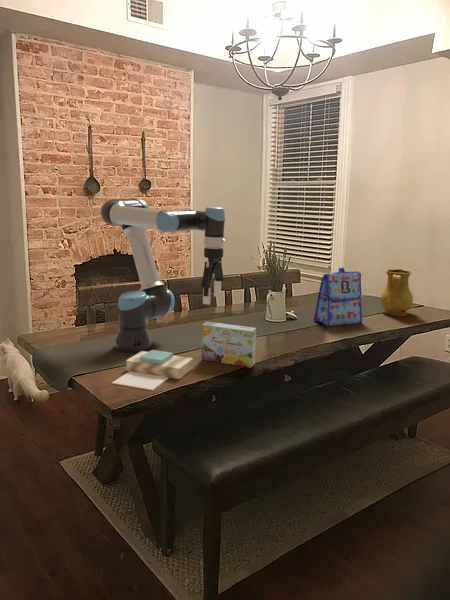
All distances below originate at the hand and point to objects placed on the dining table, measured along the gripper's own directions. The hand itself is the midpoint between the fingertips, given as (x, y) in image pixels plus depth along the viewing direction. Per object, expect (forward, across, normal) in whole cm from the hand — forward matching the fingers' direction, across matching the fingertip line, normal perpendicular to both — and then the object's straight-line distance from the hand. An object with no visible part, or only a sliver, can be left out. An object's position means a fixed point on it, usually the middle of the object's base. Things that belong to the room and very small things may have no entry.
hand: (212, 300), depth 202 cm
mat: (+23, -35, +14) cm, 44 cm away
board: (+24, -22, +13) cm, 34 cm away
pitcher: (+23, +103, -74) cm, 129 cm away
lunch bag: (+23, +74, -45) cm, 89 cm away
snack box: (+24, -5, -9) cm, 26 cm away
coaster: (+20, -22, +14) cm, 33 cm away
